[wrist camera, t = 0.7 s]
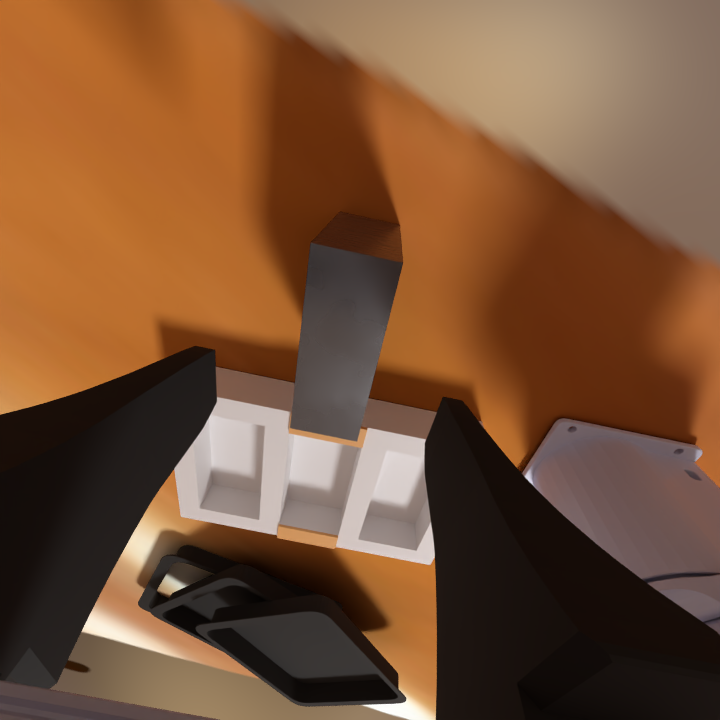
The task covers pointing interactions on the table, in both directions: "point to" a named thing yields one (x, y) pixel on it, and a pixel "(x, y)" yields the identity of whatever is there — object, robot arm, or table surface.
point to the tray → (275, 632)
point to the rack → (310, 473)
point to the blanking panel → (344, 322)
